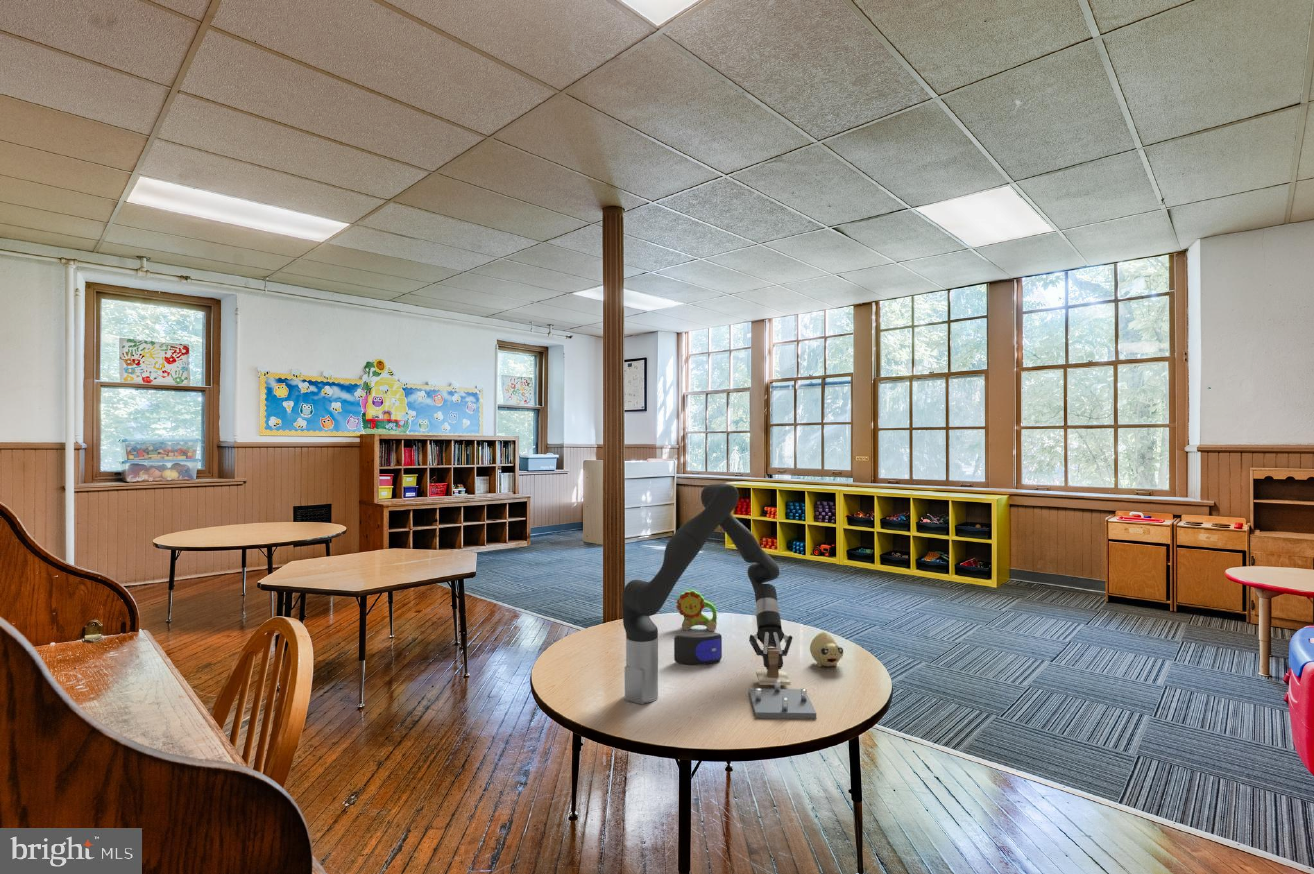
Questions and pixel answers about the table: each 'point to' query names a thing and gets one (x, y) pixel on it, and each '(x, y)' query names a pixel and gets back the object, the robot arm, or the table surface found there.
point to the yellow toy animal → (825, 650)
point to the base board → (773, 704)
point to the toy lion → (695, 610)
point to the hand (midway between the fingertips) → (773, 667)
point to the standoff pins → (784, 700)
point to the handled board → (772, 680)
